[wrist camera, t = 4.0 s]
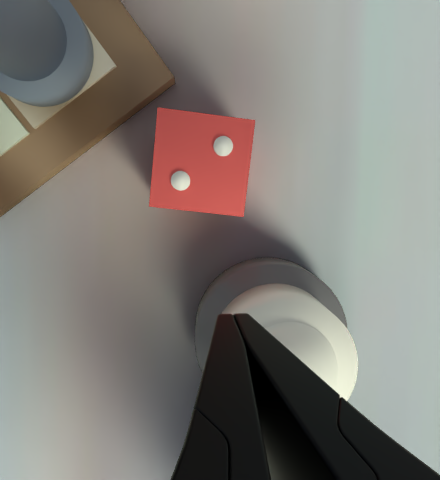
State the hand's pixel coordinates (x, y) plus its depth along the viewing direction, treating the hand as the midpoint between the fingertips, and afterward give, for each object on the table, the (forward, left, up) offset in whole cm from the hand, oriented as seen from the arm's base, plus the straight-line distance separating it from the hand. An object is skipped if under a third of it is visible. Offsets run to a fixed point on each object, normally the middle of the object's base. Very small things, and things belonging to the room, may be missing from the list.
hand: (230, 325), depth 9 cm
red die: (+3, -4, -12) cm, 13 cm away
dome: (-5, +3, -9) cm, 11 cm away
